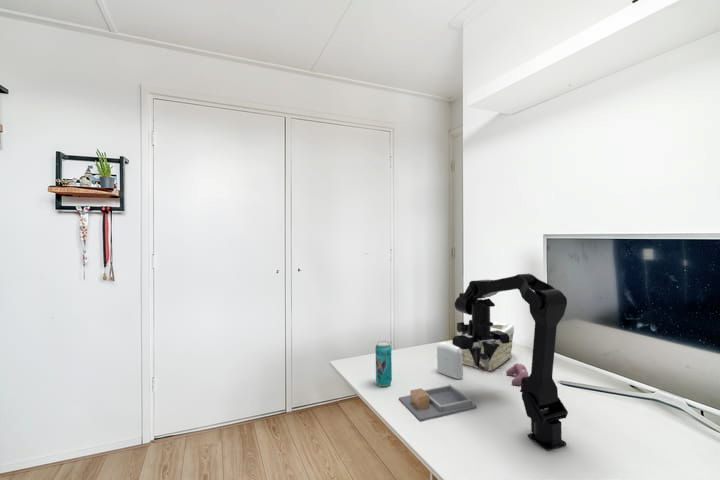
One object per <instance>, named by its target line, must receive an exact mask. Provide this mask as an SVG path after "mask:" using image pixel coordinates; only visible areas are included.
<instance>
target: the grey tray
mask: <svg viewBox="0 0 720 480" xmlns="http://www.w3.org/2000/svg"><path fill="white" fill-rule="evenodd" d="M398 401H400V402H401V403H402V404H403V405H404V407H405V408H406V409H408V410H409V412H410V413H412V415H413V416H414V417H415V418H417V420H418V421H420V422H424V421H428V420H431V419H437V418H440V417H444V416H449V415H453V414H458V413H461V412H463V413H464V412H467V411H471V410H475V409H477V405H476V404H474V403H473V399H471V398H470V397H469V396H467V395H465V394H464V393H463V392H461V391H460V390H458V389H457V388H455V387H454V386H453V385H451V384H447V385H444V386H443V385H442V386H437V387H432V388H427V389H423V388H421V387H420V388H415V389H410V395H405V396H400V397H398Z"/></svg>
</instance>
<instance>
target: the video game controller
mask: <svg viewBox="0 0 720 480" xmlns="http://www.w3.org/2000/svg"><path fill="white" fill-rule="evenodd" d="M506 376H509V377H511V376H515V377H514V378H513V379H512V380H511V385H513V386H520V385H522V384H521V380H522V378H523V377H527V376H529V372H528V369H527V367H526V366H525V365H524V364H522V363H518V362H517V363H515V364H513V366H511V367H509V368H508V369H506Z"/></svg>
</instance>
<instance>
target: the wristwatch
mask: <svg viewBox="0 0 720 480" xmlns="http://www.w3.org/2000/svg"><path fill="white" fill-rule="evenodd" d="M480 361H482V363H483V364H484V367H483V366H482V365H481V364H480V363H479V366H478V368H477V369H479V370H481V371H483V372H486V371H488V369H489V357H488V356H487V355H485V354H483V353H481V355H480Z"/></svg>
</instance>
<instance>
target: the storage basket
mask: <svg viewBox="0 0 720 480" xmlns="http://www.w3.org/2000/svg"><path fill="white" fill-rule="evenodd" d="M490 322H493V326H490V331H492V329H496V330H499V331H501V332H504V333H507V334H508V335H509V337H510V343H504V344H503V343H501V342H500V340H496V341H497V344H499V345H500V347H498V348H497V349H496V351H495V352H494V354H493V356H492V357H491V359H490V361H489V369H488V370H487V371H489V372H492V371H494V370H495V369H496V368H498V367H499V366H501V365H502V364H504V363H506V362H507V360H509V359H511V357H512V349H513V341H514V340H513V338H514V335H515V334H514V333H515V329H514V328H515V327H514V326H515V325H514V324H513V323H512V324H511V323H504V322H500V321H494V320H490ZM491 328H492V329H491ZM459 335H462V332H458V331H457V330H456V336H459ZM464 336H467V337H469V338H471V337H472V336H469V335H468V333H467V334H464ZM478 347H480V348H481V353H483V354H484V347H483V344H482V342H480V343H478ZM462 352H463V365H466V366H469V367H473V368H474V367H475V368H476V369H479V368H478V367H477V366H476V365H475V363H474V360H473V357H472V355H471V352H470V351H469V349H465V350H464V349H462ZM479 363H480V364H481V365H482V366H483V367H484V364H483V363H482V361H480V362H479Z"/></svg>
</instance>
